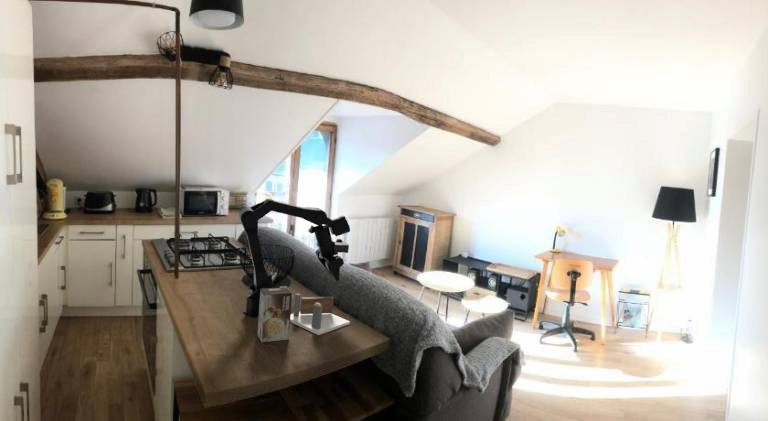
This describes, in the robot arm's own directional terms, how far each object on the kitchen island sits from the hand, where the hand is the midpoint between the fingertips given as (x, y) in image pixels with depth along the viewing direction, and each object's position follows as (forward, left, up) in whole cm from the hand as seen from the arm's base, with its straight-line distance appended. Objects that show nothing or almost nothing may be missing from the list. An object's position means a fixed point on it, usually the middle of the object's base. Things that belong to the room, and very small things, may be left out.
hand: (334, 277), depth 178 cm
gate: (-10, -2, -12) cm, 15 cm away
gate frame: (-12, -5, -14) cm, 19 cm away
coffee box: (-33, -6, -14) cm, 36 cm away
